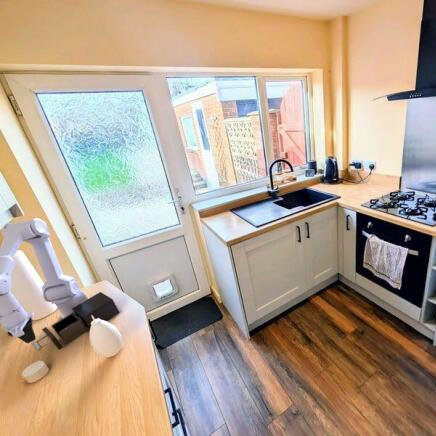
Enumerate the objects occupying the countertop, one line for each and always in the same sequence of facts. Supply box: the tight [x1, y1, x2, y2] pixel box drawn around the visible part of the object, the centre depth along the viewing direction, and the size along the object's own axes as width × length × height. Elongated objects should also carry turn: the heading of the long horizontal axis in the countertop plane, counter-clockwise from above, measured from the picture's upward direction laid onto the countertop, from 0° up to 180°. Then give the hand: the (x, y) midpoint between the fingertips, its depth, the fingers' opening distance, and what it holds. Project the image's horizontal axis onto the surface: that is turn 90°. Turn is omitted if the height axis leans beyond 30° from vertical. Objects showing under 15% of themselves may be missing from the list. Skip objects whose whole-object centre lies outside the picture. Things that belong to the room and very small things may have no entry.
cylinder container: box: [10, 249, 58, 321], centre depth 103 cm, size 9×9×30 cm
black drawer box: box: [72, 291, 120, 331], centre depth 101 cm, size 11×11×8 cm
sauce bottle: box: [89, 316, 123, 358], centre depth 82 cm, size 8×8×18 cm
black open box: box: [30, 313, 89, 352], centre depth 92 cm, size 14×9×6 cm
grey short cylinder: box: [21, 360, 50, 384], centre depth 81 cm, size 5×5×3 cm
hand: (31, 340), depth 83 cm, fingers closed
